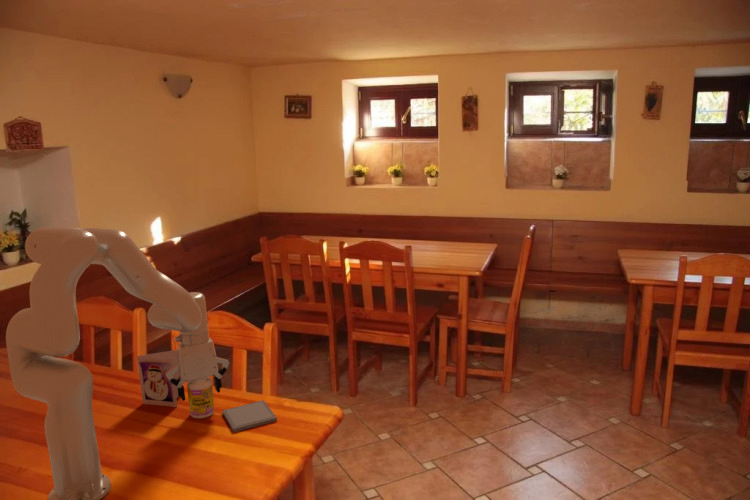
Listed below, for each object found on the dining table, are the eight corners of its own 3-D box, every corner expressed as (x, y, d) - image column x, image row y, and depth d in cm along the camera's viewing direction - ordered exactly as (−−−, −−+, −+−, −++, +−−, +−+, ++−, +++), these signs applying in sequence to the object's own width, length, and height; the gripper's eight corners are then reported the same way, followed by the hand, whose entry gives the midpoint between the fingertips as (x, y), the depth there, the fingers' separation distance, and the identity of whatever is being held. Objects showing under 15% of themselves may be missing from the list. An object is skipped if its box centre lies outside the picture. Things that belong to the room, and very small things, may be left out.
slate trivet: (276, 420, 163) (276, 417, 163) (233, 432, 158) (233, 428, 158) (263, 403, 174) (263, 399, 173) (222, 413, 168) (222, 410, 168)
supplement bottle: (189, 421, 165) (185, 378, 162) (190, 410, 171) (186, 368, 168) (214, 417, 166) (210, 374, 164) (214, 406, 173) (210, 365, 170)
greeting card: (141, 405, 175) (135, 357, 172) (155, 393, 182) (150, 347, 179) (175, 408, 172) (170, 359, 169) (189, 396, 179) (184, 350, 176)
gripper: (164, 348, 157) (170, 407, 160) (229, 335, 164) (234, 392, 168) (159, 339, 163) (166, 396, 167) (222, 327, 171) (227, 382, 174)
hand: (200, 394), depth 167 cm, fingers open, 9 cm apart
